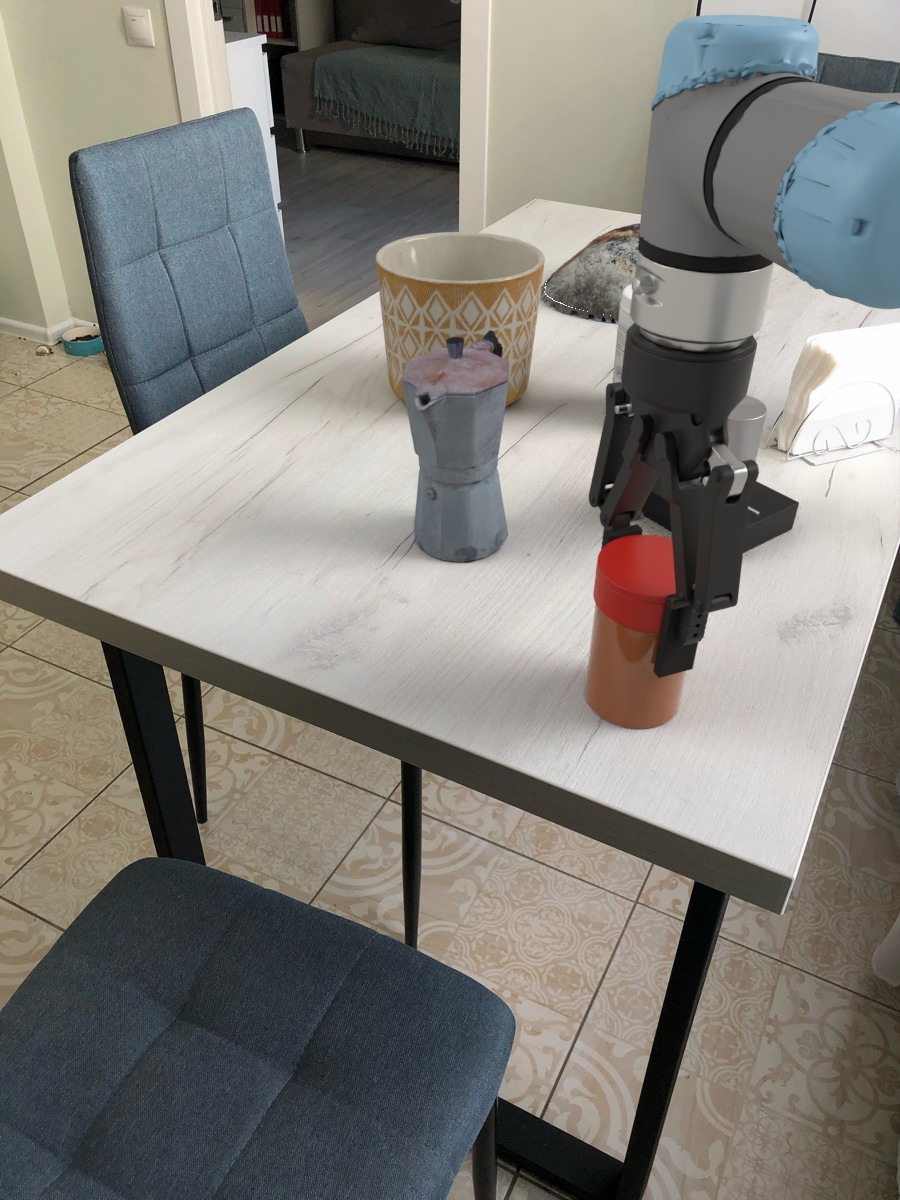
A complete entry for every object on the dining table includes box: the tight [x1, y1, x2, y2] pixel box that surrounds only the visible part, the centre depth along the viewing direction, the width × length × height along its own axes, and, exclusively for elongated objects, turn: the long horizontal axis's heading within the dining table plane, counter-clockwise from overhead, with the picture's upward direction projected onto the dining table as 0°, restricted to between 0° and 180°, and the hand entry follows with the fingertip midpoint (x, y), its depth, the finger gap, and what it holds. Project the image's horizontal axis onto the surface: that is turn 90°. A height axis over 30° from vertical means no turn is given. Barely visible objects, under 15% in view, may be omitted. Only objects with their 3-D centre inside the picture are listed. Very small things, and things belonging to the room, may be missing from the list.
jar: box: [584, 602, 688, 730], centre depth 68 cm, size 7×7×12 cm
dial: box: [685, 394, 768, 485], centre depth 88 cm, size 6×6×9 cm
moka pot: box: [402, 330, 509, 563], centre depth 84 cm, size 10×15×20 cm, turn 157°
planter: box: [375, 231, 546, 408], centre depth 112 cm, size 19×19×16 cm
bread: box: [539, 222, 640, 325], centre depth 143 cm, size 27×32×10 cm
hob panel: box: [642, 475, 800, 554], centre depth 92 cm, size 12×10×3 cm
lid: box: [592, 534, 695, 633], centre depth 65 cm, size 8×8×3 cm
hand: (641, 634), depth 68 cm, fingers closed on lid, 8 cm apart
